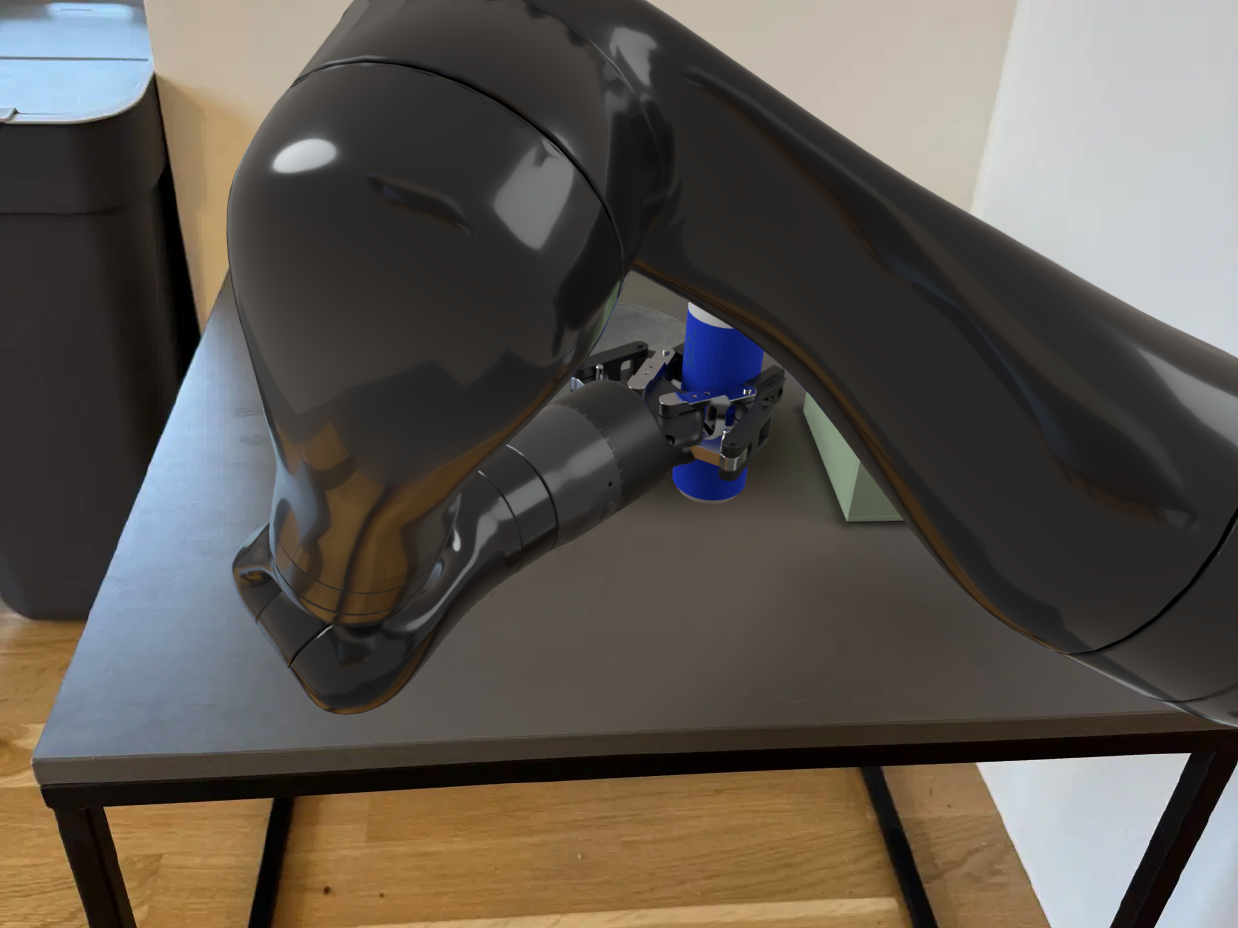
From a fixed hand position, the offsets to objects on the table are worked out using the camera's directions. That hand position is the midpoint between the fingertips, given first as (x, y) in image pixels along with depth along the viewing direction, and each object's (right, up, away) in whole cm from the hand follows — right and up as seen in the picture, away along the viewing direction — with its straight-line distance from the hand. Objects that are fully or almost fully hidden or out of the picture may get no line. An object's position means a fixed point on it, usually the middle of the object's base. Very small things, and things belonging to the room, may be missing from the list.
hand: (743, 363), depth 75 cm
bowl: (-11, -4, +24) cm, 27 cm away
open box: (+17, -7, +22) cm, 29 cm away
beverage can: (-2, -8, +4) cm, 10 cm away
